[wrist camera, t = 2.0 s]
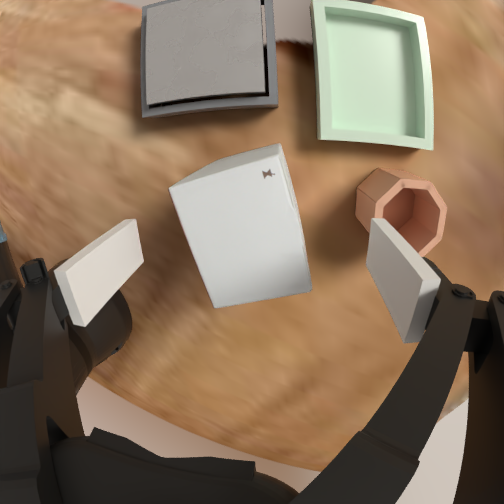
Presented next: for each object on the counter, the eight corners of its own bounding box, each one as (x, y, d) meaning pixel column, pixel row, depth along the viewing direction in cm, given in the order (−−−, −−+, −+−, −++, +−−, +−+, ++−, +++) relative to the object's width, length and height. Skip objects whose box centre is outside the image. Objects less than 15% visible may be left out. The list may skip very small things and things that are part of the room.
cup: (353, 234, 28) (369, 260, 22) (357, 166, 25) (377, 176, 20) (412, 236, 27) (437, 260, 22) (420, 172, 24) (450, 183, 19)
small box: (216, 159, 26) (164, 185, 14) (280, 141, 25) (282, 150, 13) (240, 236, 29) (212, 311, 17) (301, 221, 28) (315, 292, 16)
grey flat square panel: (151, 105, 22) (146, 104, 21) (151, 11, 18) (147, 8, 17) (265, 93, 21) (264, 91, 20) (260, -6, 16) (259, -10, 16)
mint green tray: (317, 138, 24) (320, 139, 22) (309, 7, 19) (312, -3, 16) (421, 148, 23) (432, 150, 21) (413, 24, 18) (423, 17, 15)
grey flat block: (155, 118, 25) (139, 117, 22) (154, 12, 20) (140, 1, 16) (278, 107, 24) (278, 103, 20) (272, -5, 19) (270, -21, 15)
